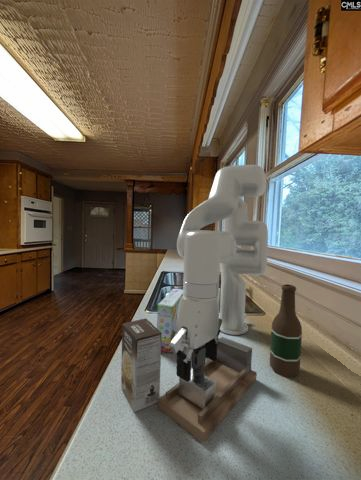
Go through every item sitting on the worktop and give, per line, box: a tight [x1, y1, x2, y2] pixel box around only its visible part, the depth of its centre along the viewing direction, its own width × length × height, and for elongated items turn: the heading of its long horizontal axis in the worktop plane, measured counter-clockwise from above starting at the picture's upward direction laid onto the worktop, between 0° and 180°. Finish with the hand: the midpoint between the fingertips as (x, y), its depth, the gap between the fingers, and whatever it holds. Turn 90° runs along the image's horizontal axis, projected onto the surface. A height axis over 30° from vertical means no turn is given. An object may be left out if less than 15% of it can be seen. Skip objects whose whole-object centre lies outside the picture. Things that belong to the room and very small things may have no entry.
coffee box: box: [120, 318, 162, 413], centre depth 53 cm, size 9×6×16 cm
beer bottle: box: [269, 283, 303, 378], centre depth 65 cm, size 8×8×24 cm
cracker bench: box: [157, 336, 257, 443], centre depth 55 cm, size 24×12×8 cm, turn 139°
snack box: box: [156, 288, 183, 354], centre depth 82 cm, size 21×6×15 cm, turn 168°
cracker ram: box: [178, 345, 216, 409], centre depth 50 cm, size 4×7×11 cm, turn 49°
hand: (197, 367), depth 50 cm, fingers open, 9 cm apart
